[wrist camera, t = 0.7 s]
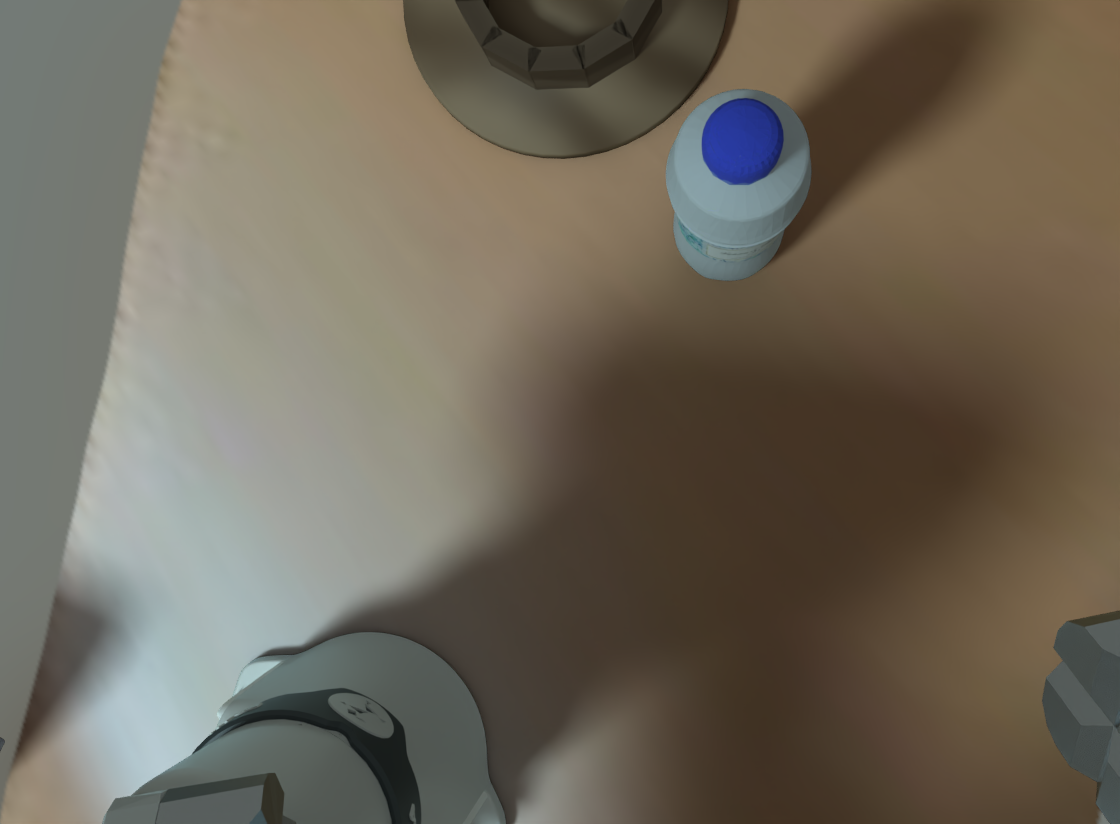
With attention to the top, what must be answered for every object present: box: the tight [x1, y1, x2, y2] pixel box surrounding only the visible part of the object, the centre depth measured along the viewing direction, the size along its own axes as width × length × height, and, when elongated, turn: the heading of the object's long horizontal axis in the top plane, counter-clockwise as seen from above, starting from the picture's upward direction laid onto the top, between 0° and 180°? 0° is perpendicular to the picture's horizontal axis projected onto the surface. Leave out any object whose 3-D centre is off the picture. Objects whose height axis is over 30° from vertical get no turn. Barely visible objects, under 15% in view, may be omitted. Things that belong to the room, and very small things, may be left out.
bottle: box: [666, 89, 812, 281], centre depth 51 cm, size 7×7×20 cm
